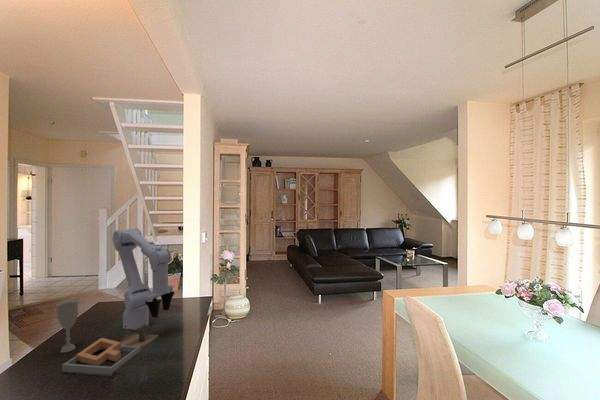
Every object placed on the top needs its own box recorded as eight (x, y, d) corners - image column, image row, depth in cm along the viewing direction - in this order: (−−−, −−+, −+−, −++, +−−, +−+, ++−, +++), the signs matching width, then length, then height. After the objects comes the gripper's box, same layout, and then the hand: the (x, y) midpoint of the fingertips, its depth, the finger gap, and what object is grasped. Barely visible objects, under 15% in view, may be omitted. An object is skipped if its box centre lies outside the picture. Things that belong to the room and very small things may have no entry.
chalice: (84, 348, 108) (84, 300, 108) (64, 358, 102) (64, 307, 102) (71, 345, 111) (70, 298, 111) (51, 354, 104) (50, 305, 104)
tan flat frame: (77, 361, 98) (76, 354, 97) (102, 343, 106) (101, 337, 106) (106, 369, 94) (105, 362, 94) (130, 350, 102) (129, 344, 102)
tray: (62, 372, 93) (62, 364, 93) (97, 350, 107) (96, 343, 107) (111, 376, 91) (111, 368, 91) (140, 353, 104) (140, 346, 104)
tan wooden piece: (113, 348, 108) (113, 331, 108) (132, 336, 118) (132, 320, 118) (142, 350, 107) (142, 332, 107) (159, 337, 117) (159, 321, 117)
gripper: (158, 285, 110) (158, 321, 110) (179, 275, 124) (179, 307, 124) (141, 285, 111) (141, 320, 111) (164, 275, 125) (164, 306, 125)
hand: (160, 313), depth 118 cm, fingers open, 7 cm apart
